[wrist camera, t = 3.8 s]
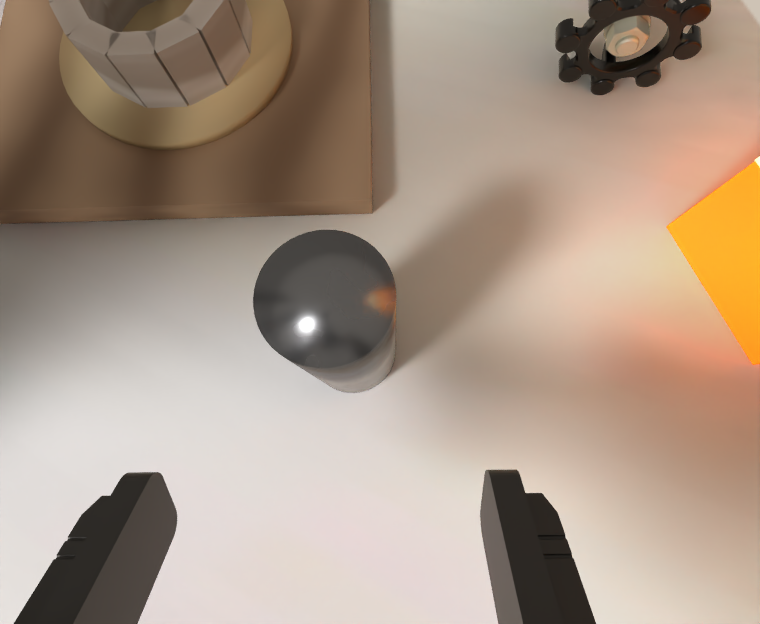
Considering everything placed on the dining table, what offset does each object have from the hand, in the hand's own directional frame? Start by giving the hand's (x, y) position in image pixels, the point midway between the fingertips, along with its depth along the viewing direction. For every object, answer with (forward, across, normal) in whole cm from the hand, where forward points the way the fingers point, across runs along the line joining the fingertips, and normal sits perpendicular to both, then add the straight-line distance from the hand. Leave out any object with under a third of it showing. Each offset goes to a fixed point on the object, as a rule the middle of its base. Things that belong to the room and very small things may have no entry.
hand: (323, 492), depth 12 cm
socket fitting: (+22, +9, -8) cm, 25 cm away
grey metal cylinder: (+10, 0, +3) cm, 11 cm away
